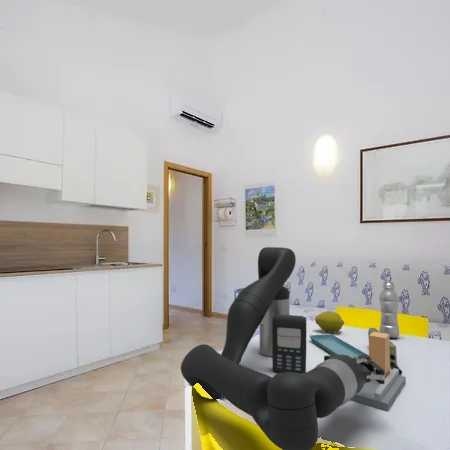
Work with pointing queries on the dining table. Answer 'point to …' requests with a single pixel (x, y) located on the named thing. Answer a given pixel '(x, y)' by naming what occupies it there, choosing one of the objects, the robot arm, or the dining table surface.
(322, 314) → the lemon
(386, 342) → the switch tab
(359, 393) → the grey slotted base
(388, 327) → the plastic bottle
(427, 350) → the dining table surface
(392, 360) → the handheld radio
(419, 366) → the dining table surface
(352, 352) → the rectangular tray
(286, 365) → the card reader
